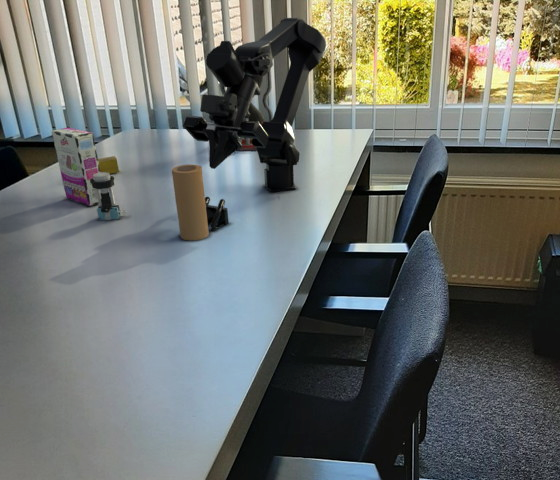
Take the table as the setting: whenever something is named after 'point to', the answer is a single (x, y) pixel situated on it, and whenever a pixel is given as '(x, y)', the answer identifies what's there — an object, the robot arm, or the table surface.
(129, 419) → the table surface
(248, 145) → the hourglass
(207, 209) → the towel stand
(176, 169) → the paper towel roll
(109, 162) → the medication box
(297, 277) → the table surface
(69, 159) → the candy bar box
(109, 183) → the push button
